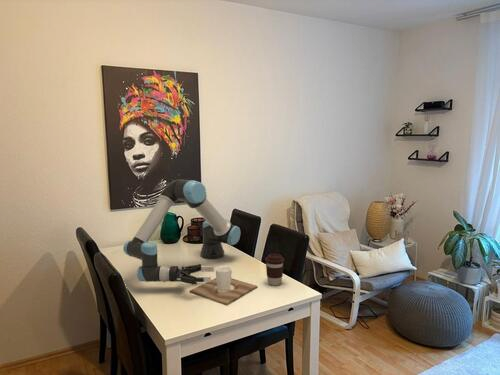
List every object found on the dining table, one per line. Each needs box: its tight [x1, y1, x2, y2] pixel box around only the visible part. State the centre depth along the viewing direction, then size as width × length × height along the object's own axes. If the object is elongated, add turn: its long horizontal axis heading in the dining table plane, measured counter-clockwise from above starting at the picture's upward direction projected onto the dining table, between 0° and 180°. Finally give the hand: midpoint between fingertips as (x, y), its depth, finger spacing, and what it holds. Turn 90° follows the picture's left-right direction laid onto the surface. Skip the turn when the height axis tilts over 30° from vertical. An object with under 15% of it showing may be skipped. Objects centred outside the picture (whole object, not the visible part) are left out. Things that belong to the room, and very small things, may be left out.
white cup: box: [215, 265, 232, 291], centre depth 186 cm, size 8×8×10 cm
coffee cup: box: [264, 253, 285, 287], centre depth 194 cm, size 10×10×15 cm
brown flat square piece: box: [189, 277, 258, 306], centre depth 187 cm, size 24×24×3 cm
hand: (212, 273), depth 185 cm, fingers open, 13 cm apart
